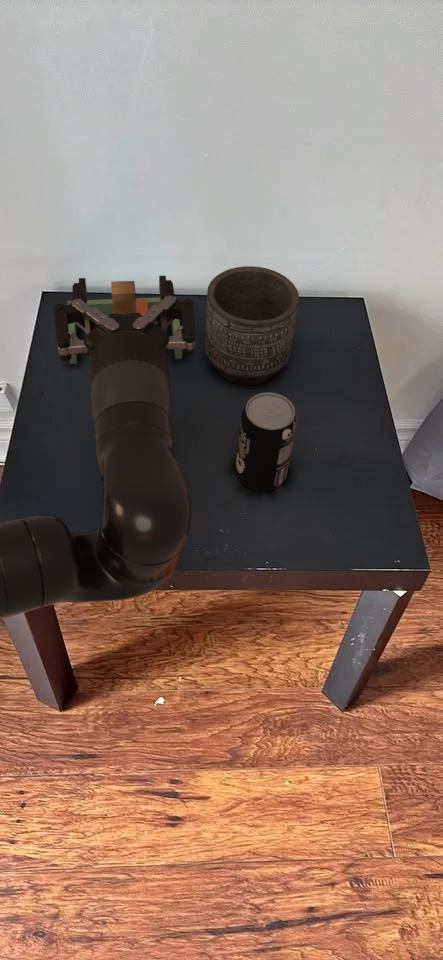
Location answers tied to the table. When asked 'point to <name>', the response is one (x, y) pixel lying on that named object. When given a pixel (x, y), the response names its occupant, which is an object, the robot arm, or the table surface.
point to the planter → (250, 323)
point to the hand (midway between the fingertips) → (122, 283)
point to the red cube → (141, 306)
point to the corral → (107, 309)
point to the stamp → (123, 297)
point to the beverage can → (265, 441)
